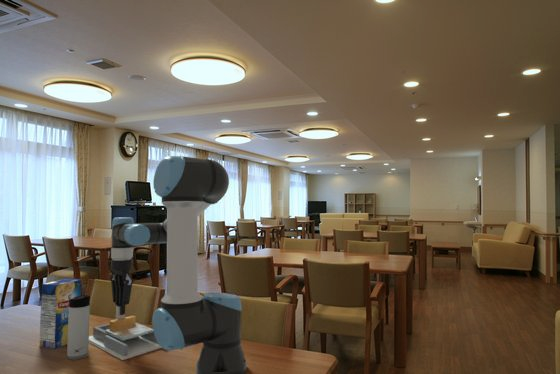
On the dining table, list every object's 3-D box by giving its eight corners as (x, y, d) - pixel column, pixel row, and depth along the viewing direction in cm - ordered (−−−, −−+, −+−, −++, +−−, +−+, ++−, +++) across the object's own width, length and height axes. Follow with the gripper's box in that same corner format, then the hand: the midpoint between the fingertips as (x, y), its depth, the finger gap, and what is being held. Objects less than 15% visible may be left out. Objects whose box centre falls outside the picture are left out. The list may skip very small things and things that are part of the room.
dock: (165, 346, 137) (165, 333, 137) (122, 360, 124) (122, 346, 124) (125, 329, 154) (125, 318, 155) (84, 340, 142) (84, 327, 142)
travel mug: (80, 361, 123) (82, 298, 124) (62, 359, 125) (64, 297, 126) (93, 353, 130) (95, 293, 130) (76, 352, 131) (78, 292, 132)
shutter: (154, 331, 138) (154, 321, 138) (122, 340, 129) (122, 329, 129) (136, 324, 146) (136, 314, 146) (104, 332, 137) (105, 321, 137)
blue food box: (39, 346, 135) (41, 283, 136) (64, 336, 146) (66, 278, 147) (54, 349, 133) (56, 285, 134) (79, 338, 144) (81, 279, 145)
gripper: (140, 259, 141) (139, 324, 140) (122, 256, 150) (121, 317, 149) (121, 261, 136) (119, 329, 135) (103, 258, 144) (102, 321, 143)
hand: (120, 323), depth 142 cm, fingers closed
